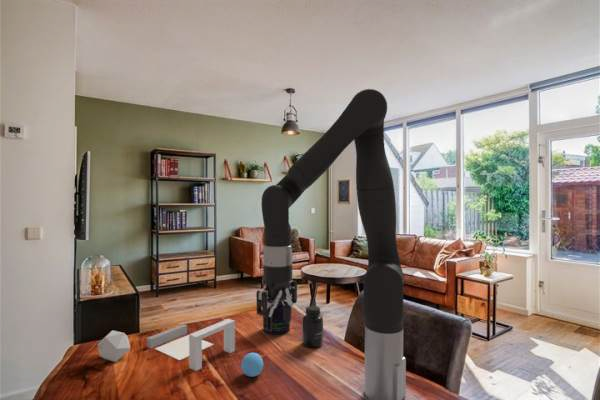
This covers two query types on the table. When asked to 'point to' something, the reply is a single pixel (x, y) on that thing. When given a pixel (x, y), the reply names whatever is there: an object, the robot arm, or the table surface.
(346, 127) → the robot arm
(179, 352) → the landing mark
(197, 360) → the bridge
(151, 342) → the wall
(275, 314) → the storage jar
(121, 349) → the die
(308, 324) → the supplement bottle
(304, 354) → the table surface
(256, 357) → the ball
